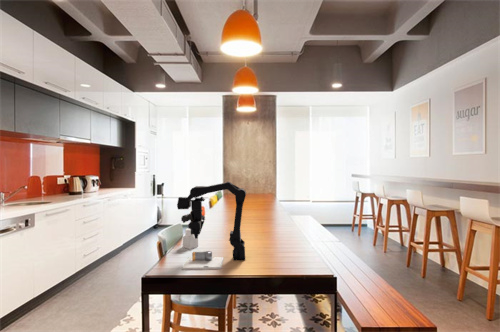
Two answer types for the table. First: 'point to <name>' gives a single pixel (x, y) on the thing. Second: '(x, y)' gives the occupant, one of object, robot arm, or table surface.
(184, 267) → the base
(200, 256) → the lock lever
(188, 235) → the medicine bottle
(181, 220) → the robot arm
